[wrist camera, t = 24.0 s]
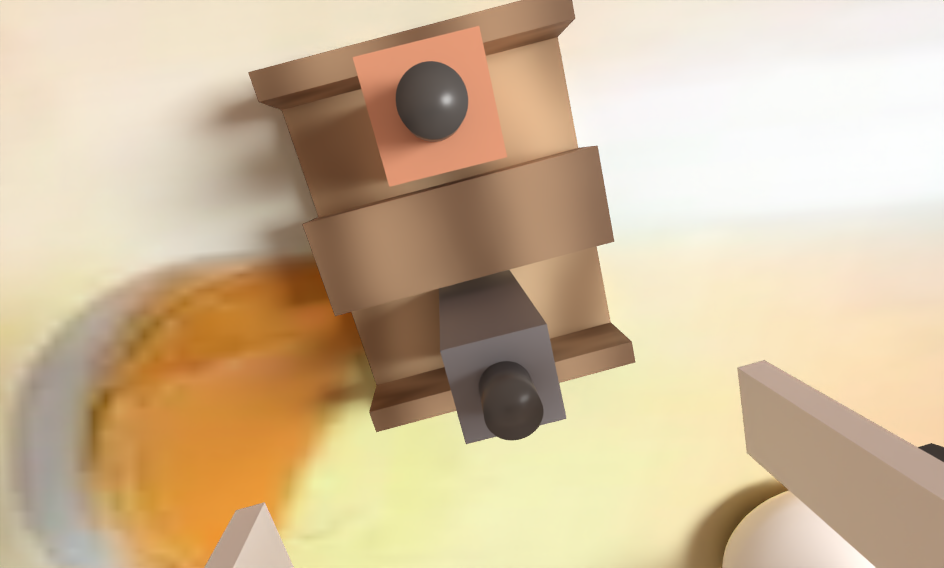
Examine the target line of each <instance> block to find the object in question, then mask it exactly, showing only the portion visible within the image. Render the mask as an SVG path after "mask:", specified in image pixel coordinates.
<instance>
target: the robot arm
mask: <svg viewBox="0 0 944 568" xmlns="http://www.w3.org/2000/svg"><path fill="white" fill-rule="evenodd" d="M738 377H739V386H740V395H741V404H742V413H743V422H744V431H745V440H746V449H747V453H748V454H749V455H750V456H751V457H752V458H753V459H754V460H755V461H757V462H758V463H759V464H760V465H761V466H762V467H763V468H764V469H766V470H767V471H768V472H769V473H770V474H771V475H772V476H773V477H775V478H776V479H777V480H778V481H779V482H780V483H781V484H782V485H784V486H785V487H786V488H787V489H788V490H789V491H790V492H791V493H793V494H794V495H795V496H796V497H797V498H798V499H799V500H800V501H802V502H803V503H804V504H805V505H806V506H807V507H808V508H809V509H811V510H812V511H813V512H814V513H815V514H816V515H817V516H818V517H820V518H821V519H822V520H823V521H824V522H825V523H826V524H827V525H829V526H830V527H831V528H832V529H833V530H834V531H835V532H836V533H838V534H839V535H840V536H841V537H842V538H843V539H844V540H845V541H847V542H848V543H849V544H850V545H851V546H852V547H853V548H854V549H856V550H857V551H858V552H859V553H860V554H861V555H862V556H863V557H865V558H866V559H867V560H868V561H869V562H870V563H871V564H872V565H874V566H875V567H876V568H944V447H941V446H938V445H935V444H932V443H931V444H928V445H924V446H921V447H916V446H914V445H912V444H911V443H909V442H907V441H905V440H904V439H902V438H900V437H898V436H897V435H895V434H893V433H891V432H890V431H888V430H886V429H884V428H883V427H881V426H879V425H877V424H876V423H874V422H872V421H870V420H868V419H867V418H865V417H863V416H861V415H860V414H858V413H856V412H854V411H853V410H851V409H849V408H847V407H846V406H844V405H842V404H840V403H839V402H837V401H835V400H833V399H832V398H830V397H828V396H826V395H825V394H823V393H821V392H819V391H818V390H816V389H814V388H812V387H811V386H809V385H807V384H805V383H803V382H802V381H800V380H798V379H796V378H795V377H793V376H791V375H789V374H788V373H786V372H784V371H782V370H781V369H779V368H777V367H775V366H774V365H772V364H770V363H768V362H767V361H765V360H763V361H759V362H756V363H752V364H749V365H745V366H742V367H738ZM205 568H294V566H293V564H292V562H291V560H290V558H289V555H288V553H287V551H286V549H285V546H284V544H283V542H282V540H281V538H280V535H279V533H278V531H277V529H276V527H275V524H274V522H273V520H272V518H271V515H270V513H269V511H268V509H267V507H266V504H265V502H264V503H261V504H257V505H254V506H250V507H247V508H243V509H240V510H236V512H235V513H234V515H233V517H232V519H231V521H230V522H229V524H228V526H227V528H226V530H225V531H224V533H223V535H222V537H221V539H220V540H219V542H218V544H217V546H216V548H215V549H214V551H213V553H212V555H211V557H210V559H209V560H208V562H207V564H206V566H205Z"/></svg>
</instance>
